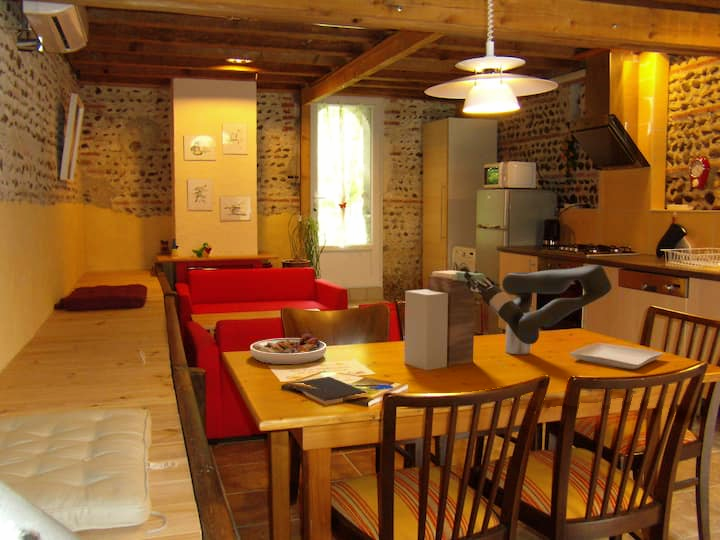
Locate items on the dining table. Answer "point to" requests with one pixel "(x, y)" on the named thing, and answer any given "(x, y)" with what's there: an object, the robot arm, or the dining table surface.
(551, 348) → the dining table surface
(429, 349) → the tall grey pillar
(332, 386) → the hardcover book
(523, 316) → the robot arm
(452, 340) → the wood grain pillar
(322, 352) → the bowl
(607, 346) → the square plate
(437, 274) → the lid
